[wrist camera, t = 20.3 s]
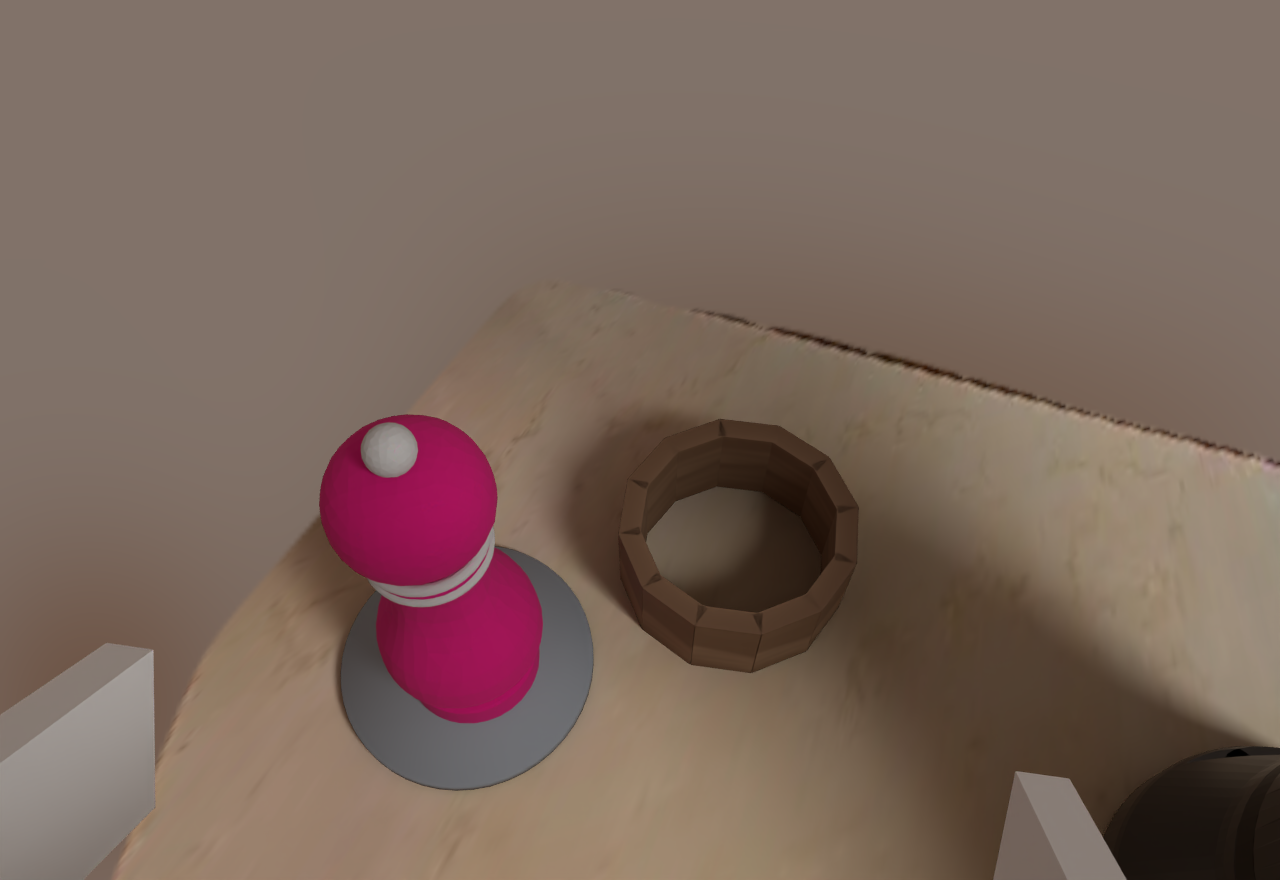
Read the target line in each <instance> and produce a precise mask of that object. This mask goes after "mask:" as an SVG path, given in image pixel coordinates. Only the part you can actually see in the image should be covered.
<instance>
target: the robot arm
mask: <svg viewBox="0 0 1280 880" xmlns="http://www.w3.org/2000/svg"><path fill="white" fill-rule="evenodd" d="M154 744H155V743H154V667H153V649H146V648H139V647H131V646H124V645H117V644H110V643H106V644H104V645H103V646H101V647H100V648H98V649H97V650H95V651H94V652H92V653H91V654H89V655H88V656H87V657H85V658H84V659H82V660H81V661H79V662H78V663H76V664H75V665H73V666H72V667H70V668H69V669H67V670H66V671H64V672H63V673H61V674H60V675H58V676H57V677H55V678H54V679H53V680H51V681H49V682H48V683H46V684H45V685H44V686H42V687H41V688H39V689H38V690H36V691H35V692H33V693H32V694H30V695H29V696H28V697H26V698H24V699H23V700H21V701H20V702H19V703H17V704H16V705H14V706H13V707H11V708H10V709H8V710H7V711H5V712H4V713H2V714H1V715H0V880H84V879H85V878H86V876H88V874H89V873H90V872H91V871H93V870H94V868H95V867H96V866H97V865H98V864H99V863H100V862H101V861H102V860H103V859H104V858H105V857H106V856H107V855H108V854H109V853H110V852H111V851H112V850H113V849H114V848H115V847H116V846H117V845H118V844H119V843H120V842H121V841H122V840H123V839H124V838H125V837H126V836H127V835H128V834H129V833H130V832H131V831H132V830H133V829H134V828H135V827H136V826H137V825H138V824H139V823H140V822H141V821H142V820H143V819H144V818H145V817H146V816H147V815H148V814H149V813H150V812H151V811H152V810H153V809H154V808H155V749H154V748H155V745H154ZM993 880H1280V748H1273V747H1260V746H1239V747H1228V748H1221V749H1217V750H1212V751H1207V752H1204V753H1200V754H1197V755H1194V756H1191V757H1189V758H1187V759H1184V760H1182V761H1180V762H1178V763H1176V764H1174V765H1173V766H1171V767H1169V768H1167V769H1166V770H1164V771H1162V772H1160V773H1159V774H1157V775H1155V776H1154V777H1152V778H1151V779H1149V780H1148V781H1146V782H1145V783H1144V784H1142V785H1141V786H1140V787H1138V788H1137V789H1136V790H1135V791H1134V792H1133V793H1132V794H1131V795H1130V796H1129V797H1128V798H1127V799H1126V801H1125V802H1124V803H1123V804H1122V805H1121V807H1120V808H1119V810H1118V811H1117V813H1116V814H1115V816H1114V817H1113V819H1112V821H1111V823H1110V824H1109V827H1108V829H1107V831H1106V833H1105V835H1104V838H1103V837H1102V835H1101V833H1100V832H1099V830H1098V828H1097V826H1096V825H1095V823H1094V821H1093V819H1092V818H1091V816H1090V814H1089V812H1088V810H1087V809H1086V807H1085V805H1084V803H1083V802H1082V800H1081V798H1080V796H1079V795H1078V793H1077V791H1076V789H1075V787H1074V786H1073V784H1072V782H1071V780H1070V779H1069V778H1062V777H1055V776H1048V775H1041V774H1034V773H1027V772H1019V771H1015V776H1014V780H1013V785H1012V790H1011V795H1010V800H1009V805H1008V810H1007V815H1006V820H1005V825H1004V829H1003V834H1002V839H1001V844H1000V849H999V854H998V859H997V864H996V869H995V874H994V878H993Z"/></svg>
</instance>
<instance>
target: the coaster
mask: <svg viewBox="0 0 1280 880" xmlns="http://www.w3.org/2000/svg"><path fill="white" fill-rule="evenodd" d="M494 547H495V548H497V549H499V550H501V551H502V552H504V553H505V554H507V555H508V556H509V557H510V558H511V559H512V560H514V561H515V562H516V563H517V564H518V565H519V566H520V567H521V568H522V569H523V571H524V572H525V573H526V574H527V576H528V577H529V579H530V581H531V583H532V585H533V587H534V589H535V591H536V593H537V596H538V599H539V602H540V605H541V608H542V617H543V630H542V638H541V643H540V646H539V649H540V657H539V668H538V671H537V674H536V678H535V680H534V682H533V684H532V686H531V688H530V690H529V691H528V692H527V694H526V695H525V696H524V698H523V699H522V700H521V701H520V702H519V703H518V704H517V705H516V706H515V707H513V708H512V709H511V710H509V711H508V712H506V713H504V714H503V715H501V716H499V717H496V718H494V719H491V720H489V721H485V722H479V723H457V722H451V721H448V720H445V719H443V718H441V717H439V716H437V715H435V714H434V713H432V712H431V711H429V710H428V709H427V708H426V707H425V706H424V705H423V704H422V703H421V702H420V700H418V699H416V698H414V697H413V696H411V695H410V694H408V693H407V692H406V691H404V690H403V689H402V688H401V687H400V686H399V685H398V684H397V683H396V682H395V681H394V679H393V678H392V677H391V675H390V674H389V672H388V670H387V668H386V666H385V664H384V662H383V659H382V656H381V654H380V651H379V647H378V643H377V637H376V620H377V613H378V606H379V602H380V599H381V596H382V595H381V594H380V593H379V592H378V591H377V590H376V591H375V592H374V594H373V595H372V596H371V597H370V598H369V599H368V601H367V602H366V604H365V605H364V606H363V608H362V609H361V611H360V612H359V614H358V616H357V618H356V620H355V622H354V624H353V625H352V628H351V630H350V633H349V635H348V638H347V641H346V644H345V649H344V653H343V657H342V666H341V690H342V696H343V701H344V706H345V709H346V712H347V715H348V718H349V720H350V722H351V724H352V726H353V728H354V730H355V732H356V734H357V736H358V737H359V738H360V740H361V741H362V743H363V744H364V745H365V747H366V748H367V749H368V750H369V751H370V752H371V753H372V754H373V756H374V757H375V758H376V759H377V760H378V761H379V762H380V763H382V764H383V765H384V766H386V767H387V768H388V769H390V770H391V771H392V772H394V773H396V774H398V775H399V776H401V777H403V778H405V779H407V780H409V781H412V782H414V783H417V784H420V785H422V786H427V787H431V788H436V789H443V790H456V791H457V790H474V789H479V788H484V787H490V786H493V785H496V784H499V783H502V782H505V781H508V780H510V779H512V778H514V777H517V776H519V775H521V774H523V773H525V772H526V771H528V770H529V769H531V768H532V767H534V766H535V765H537V764H539V763H540V762H541V761H542V760H543V759H545V758H546V757H547V756H548V755H549V754H551V753H552V752H553V751H554V750H555V749H556V748H557V746H558V745H559V744H560V743H561V742H562V741H563V740H564V739H565V737H566V736H567V735H568V733H569V732H570V730H571V729H572V728H573V726H574V725H575V723H576V721H577V719H578V717H579V715H580V714H581V712H582V710H583V707H584V704H585V702H586V699H587V697H588V693H589V689H590V685H591V681H592V673H593V644H592V638H591V632H590V628H589V624H588V621H587V618H586V615H585V613H584V611H583V608H582V606H581V604H580V602H579V600H578V599H577V597H576V596H575V594H574V593H573V591H572V590H571V588H570V587H569V586H568V585H567V584H566V583H565V582H564V580H563V579H562V578H561V577H560V576H559V575H557V574H556V573H555V572H554V571H553V570H551V569H550V568H549V567H547V566H546V565H544V564H543V563H541V562H540V561H538V560H536V559H534V558H532V557H530V556H528V555H526V554H524V553H521V552H518V551H514V550H511V549H507V548H502V547H497V546H494Z"/></svg>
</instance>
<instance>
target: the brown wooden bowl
mask: <svg viewBox="0 0 1280 880" xmlns="http://www.w3.org/2000/svg"><path fill="white" fill-rule="evenodd" d="M716 486H719V487H727V488H735V489H743V490H752V491H760V492H763V493H765V494H766V495H768V496H769V497H771V498H772V499H774V500H776V501H777V502H779V503H780V504H782V505H783V506H785V507H786V508H788V509H789V510H791V511H792V512H794V513H795V514H797V515H799V516H800V517H801V519H802V521H803V523H804V524H805V526H806V528H807V530H808V532H809V534H810V535H811V537H812V539H813V541H814V543H815V545H816V546H817V548H818V550H819V552H820V554H821V572H820V576H819V577H818V579H817V580H816V581H815V583H814V584H813V585H812V587H811V588H810V589H809V591H808V592H807V593H806V594H805V595H802V596H800V597H797V598H794V599H792V600H789V601H787V602H784V603H781V604H779V605H776V606H774V607H771V608H769V609H766V610H763V611H761V612H758V613H755V612H747V611H740V610H732V609H724V608H717V607H709V606H703V605H702V604H700V603H699V602H697V601H696V600H695V599H693V598H692V597H690V596H689V595H688V594H686V593H685V592H683V591H682V590H681V589H679V588H678V587H676V586H675V585H674V584H672V583H671V582H669V581H668V580H667V579H665V578H664V577H662V576H661V575H660V573H659V571H658V569H657V566H656V564H655V562H654V560H653V557H652V555H651V553H650V551H649V549H648V546H647V544H646V539H647V533H648V532H649V531H650V530H651V529H652V527H653V526H654V525H655V524H656V523H657V522H658V521H659V519H660V518H661V517H662V516H663V515H664V514H665V513H666V511H667V510H668V509H669V508H670V507H671V506H672V504H673V503H674V502H675V501H677V500H680V499H683V498H686V497H688V496H691V495H694V494H697V493H700V492H702V491H705V490H708V489H711V488H714V487H716ZM858 511H859V507H858V505H857V503H856V502H855V500H854V498H853V497H852V495H851V493H850V491H849V490H848V488H847V486H846V485H845V483H844V481H843V479H842V478H841V476H840V474H839V473H838V471H837V469H836V467H835V466H834V464H833V462H832V461H831V459H830V458H829V457H828V456H827V455H825V454H823V453H822V452H820V451H819V450H817V449H815V448H814V447H812V446H811V445H809V444H807V443H806V442H804V441H803V440H801V439H799V438H798V437H796V436H795V435H793V434H791V433H790V432H788V431H787V430H785V429H783V428H782V427H780V426H776V425H767V424H759V423H750V422H742V421H733V420H725V419H718V420H715V421H712V422H709V423H707V424H704V425H701V426H698V427H695V428H692V429H689V430H686V431H683V432H680V433H677V434H675V435H672V436H669V437H666V438H664V440H663V441H662V442H661V443H660V444H659V445H658V446H657V447H656V448H655V449H654V451H653V452H652V453H651V454H650V455H649V456H648V457H647V458H646V459H645V460H644V462H643V463H642V464H641V465H640V466H639V467H638V468H637V469H636V470H635V471H634V473H633V474H632V475H631V476H630V477H629V478H628V481H627V486H626V492H625V498H624V504H623V510H622V516H621V521H620V527H619V553H620V575H621V580H622V582H623V585H624V587H625V590H626V592H627V594H628V597H629V599H630V601H631V604H632V606H633V608H634V611H635V613H636V615H637V618H638V620H639V622H640V625H641V627H642V628H643V630H644V631H646V632H647V633H648V634H650V635H651V636H652V637H654V638H655V639H656V640H658V641H659V642H660V643H662V644H663V645H665V646H666V647H667V648H669V649H670V650H671V651H673V652H674V653H675V654H677V655H678V656H679V657H681V658H682V659H683V660H685V661H686V662H687V663H689V664H691V665H696V666H704V667H711V668H718V669H726V670H733V671H740V672H748V673H751V672H752V673H753V672H755V671H758V670H760V669H763V668H765V667H768V666H770V665H773V664H775V663H778V662H780V661H783V660H785V659H788V658H790V657H793V656H795V655H798V654H800V653H803V652H805V651H807V650H808V648H809V647H810V645H811V644H812V643H813V641H814V640H815V639H816V637H817V636H818V634H819V633H820V632H821V630H822V629H823V628H824V626H825V625H826V623H827V622H828V621H829V619H830V618H831V617H832V615H833V614H834V612H835V611H836V610H837V608H838V607H839V605H840V602H841V600H842V598H843V595H844V593H845V590H846V588H847V586H848V583H849V581H850V578H851V576H852V574H853V571H854V569H855V566H856V564H857V542H858Z"/></svg>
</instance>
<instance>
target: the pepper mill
mask: <svg viewBox="0 0 1280 880" xmlns="http://www.w3.org/2000/svg"><path fill="white" fill-rule="evenodd" d="M319 506H320V514H321V521H322V525H323V528H324V530H325V533H326V536H327V538H328V540H329V542H330V545H331V546H332V548H333V549H334V550H335V552H336V553H337V554H338V556H339V557H340V558H341V560H342V561H344V562H345V563H346V564H347V565H348V566H349V567H350V568H352V569H353V570H354V571H355V572H357V573H359V574H360V575H362V576H364V577H366V578H367V579H368V581H369V583H370V584H371V585H372V586H373V588H374V589H375V590H377V591H378V592H379V593H380V594H381V595H382V596H381V599H380V602H379V606H378V613H377V620H376V637H377V643H378V647H379V651H380V654H381V656H382V659H383V662H384V664H385V666H386V668H387V670H388V672H389V674H390V675H391V677H392V678H393V679H394V681H395V682H396V683H397V684H398V685H399V686H400V687H401V688H402V689H403V690H404V691H406V692H407V693H408V694H410V695H411V696H413V697H414V698H416V699H418V700H420V702H421V703H422V704H423V705H424V706H425V707H426V708H427V709H428V710H429V711H431V712H432V713H434V714H435V715H437V716H439V717H441V718H443V719H445V720H448V721H451V722H457V723H479V722H485V721H489V720H491V719H494V718H496V717H499V716H501V715H503V714H504V713H506V712H508V711H509V710H511V709H512V708H513V707H515V706H516V705H517V704H518V703H519V702H520V701H521V700H522V699H523V698H524V696H525V695H526V694H527V692H528V691H529V690H530V688H531V686H532V684H533V682H534V680H535V678H536V674H537V671H538V668H539V657H540V649H539V646H540V643H541V638H542V630H543V617H542V608H541V605H540V602H539V599H538V596H537V593H536V591H535V589H534V587H533V585H532V583H531V581H530V579H529V577H528V576H527V574H526V573H525V572H524V571H523V569H522V568H521V567H520V566H519V565H518V564H517V563H516V562H515V561H514V560H512V559H511V558H510V557H509V556H508V555H507V554H505V553H504V552H502V551H501V550H499V549H497V548H495V547H494V545H495V534H494V528H493V524H494V522H495V515H496V507H497V488H496V483H495V479H494V475H493V472H492V469H491V467H490V465H489V463H488V461H487V459H486V456H485V455H484V454H483V452H482V451H481V450H480V448H479V447H478V446H477V445H476V443H475V442H474V441H473V440H472V439H471V438H470V437H469V436H468V435H467V434H465V433H464V432H463V431H461V430H460V429H459V428H457V427H455V426H453V425H452V424H450V423H448V422H446V421H444V420H441V419H438V418H434V417H429V416H424V415H398V416H391V417H388V418H384V419H380V420H377V421H375V422H373V423H370V424H368V425H366V426H364V427H362V428H361V429H359V430H358V431H357V432H355V433H354V434H353V435H351V436H350V437H349V438H348V439H347V440H346V441H345V442H344V443H343V444H342V445H341V446H340V447H339V448H338V450H337V451H336V452H335V454H334V455H333V456H332V458H331V460H330V462H329V464H328V467H327V469H326V471H325V473H324V476H323V479H322V484H321V489H320V502H319Z"/></svg>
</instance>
